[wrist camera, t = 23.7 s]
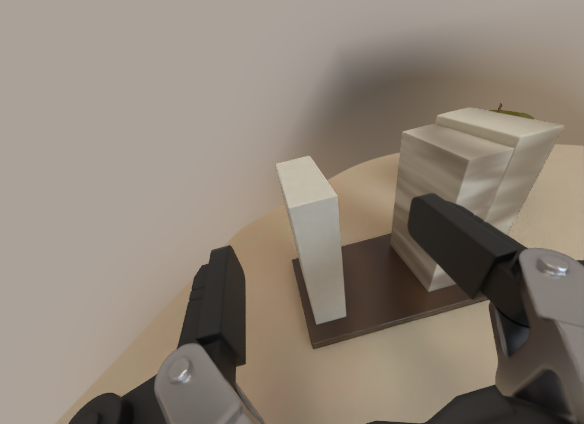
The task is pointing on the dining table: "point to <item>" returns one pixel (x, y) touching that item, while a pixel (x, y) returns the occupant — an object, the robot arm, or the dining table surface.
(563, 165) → the dining table surface
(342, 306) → the white book
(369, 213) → the dining table surface
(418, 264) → the white book stand
